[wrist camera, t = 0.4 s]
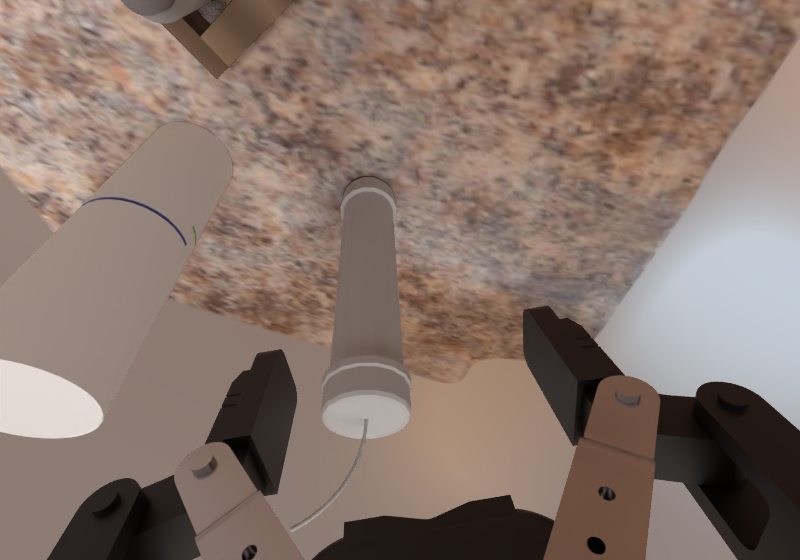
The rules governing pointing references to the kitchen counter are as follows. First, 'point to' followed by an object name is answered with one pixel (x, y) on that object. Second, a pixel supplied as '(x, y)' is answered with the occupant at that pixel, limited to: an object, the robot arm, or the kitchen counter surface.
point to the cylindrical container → (104, 284)
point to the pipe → (366, 326)
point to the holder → (212, 26)
